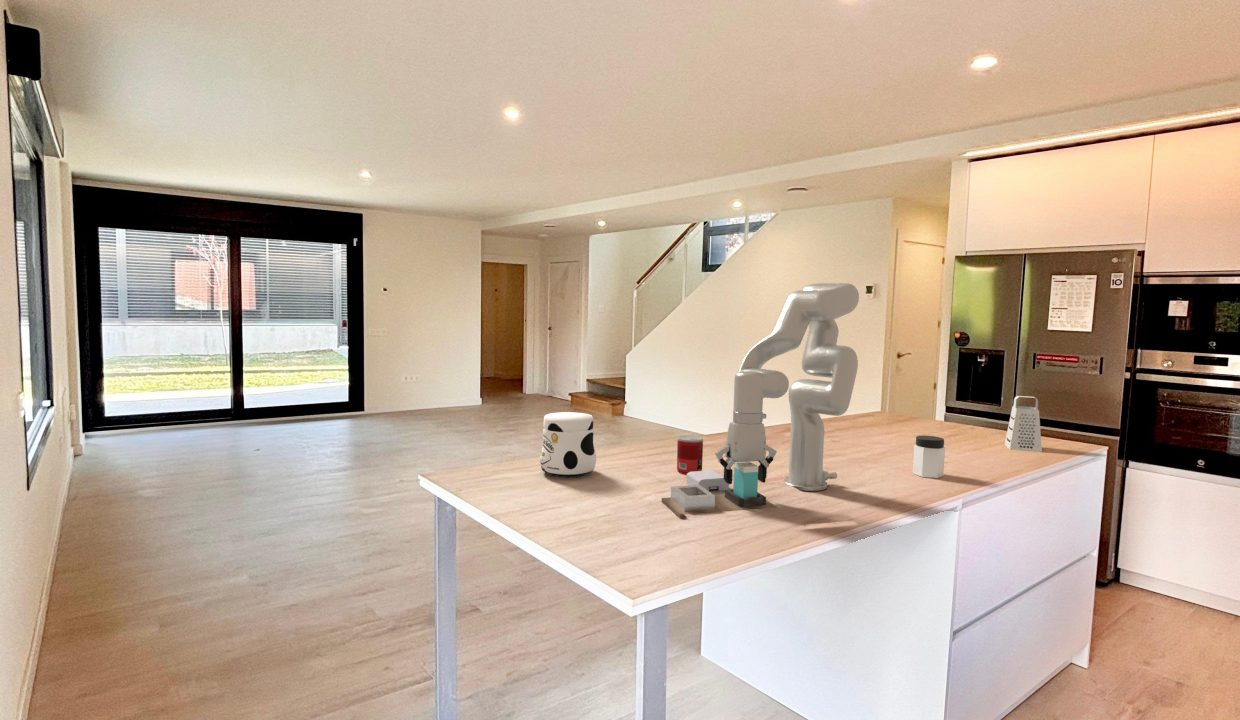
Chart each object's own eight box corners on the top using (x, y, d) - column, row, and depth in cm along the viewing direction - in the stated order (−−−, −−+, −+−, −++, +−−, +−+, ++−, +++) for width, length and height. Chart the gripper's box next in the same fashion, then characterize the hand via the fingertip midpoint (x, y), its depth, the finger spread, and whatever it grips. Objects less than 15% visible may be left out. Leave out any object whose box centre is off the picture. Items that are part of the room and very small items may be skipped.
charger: (706, 480, 197) (728, 494, 183) (678, 482, 194) (698, 496, 180) (706, 465, 197) (729, 477, 182) (678, 466, 194) (698, 479, 180)
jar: (948, 478, 204) (951, 440, 203) (926, 479, 202) (928, 441, 201) (929, 470, 212) (931, 434, 211) (907, 471, 211) (909, 435, 210)
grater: (1041, 452, 244) (1045, 399, 242) (1009, 449, 248) (1013, 397, 246) (1035, 446, 254) (1038, 396, 252) (1004, 444, 258) (1007, 394, 256)
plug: (746, 497, 176) (747, 460, 175) (757, 503, 170) (758, 466, 169) (732, 497, 175) (734, 461, 174) (742, 504, 169) (744, 467, 168)
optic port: (699, 497, 175) (699, 485, 174) (714, 509, 165) (715, 495, 165) (670, 499, 172) (670, 486, 172) (684, 511, 163) (684, 497, 162)
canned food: (703, 475, 202) (704, 440, 201) (677, 474, 202) (678, 440, 201) (700, 469, 210) (701, 435, 209) (675, 468, 210) (676, 435, 209)
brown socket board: (753, 495, 181) (753, 485, 181) (778, 511, 168) (778, 499, 167) (661, 501, 174) (661, 490, 174) (679, 518, 160) (680, 506, 160)
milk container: (528, 474, 199) (528, 416, 198) (564, 463, 214) (564, 409, 212) (572, 484, 190) (572, 423, 188) (606, 472, 204) (607, 415, 202)
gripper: (770, 415, 177) (767, 477, 178) (711, 416, 172) (709, 480, 173) (784, 420, 169) (781, 484, 171) (723, 421, 165) (720, 487, 166)
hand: (744, 482), depth 172 cm, fingers open, 9 cm apart
